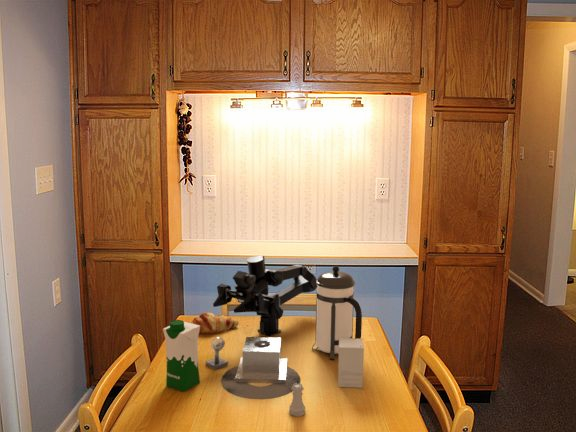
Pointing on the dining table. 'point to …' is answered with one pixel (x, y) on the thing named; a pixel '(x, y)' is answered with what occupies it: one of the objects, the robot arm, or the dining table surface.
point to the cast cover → (262, 361)
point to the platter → (259, 386)
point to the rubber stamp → (217, 354)
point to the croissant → (213, 323)
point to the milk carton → (182, 355)
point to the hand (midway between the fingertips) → (223, 308)
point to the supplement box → (350, 362)
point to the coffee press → (335, 311)
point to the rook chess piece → (297, 401)
